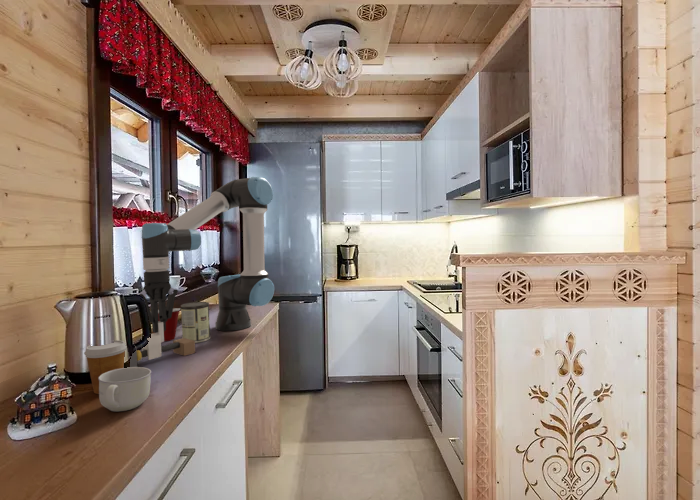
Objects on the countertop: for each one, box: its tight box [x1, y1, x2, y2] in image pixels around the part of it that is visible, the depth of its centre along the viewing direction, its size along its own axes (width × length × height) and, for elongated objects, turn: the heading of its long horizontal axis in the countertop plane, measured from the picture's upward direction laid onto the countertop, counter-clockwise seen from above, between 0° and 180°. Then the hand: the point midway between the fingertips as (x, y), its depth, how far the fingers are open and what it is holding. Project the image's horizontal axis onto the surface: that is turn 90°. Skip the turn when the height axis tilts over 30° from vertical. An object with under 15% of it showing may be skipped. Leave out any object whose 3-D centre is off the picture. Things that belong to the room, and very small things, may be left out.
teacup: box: [98, 366, 152, 412], centre depth 89 cm, size 14×11×8 cm
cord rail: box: [130, 337, 196, 367], centre depth 125 cm, size 22×7×7 cm, turn 144°
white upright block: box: [141, 332, 162, 361], centre depth 123 cm, size 4×4×7 cm
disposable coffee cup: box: [83, 339, 127, 395], centre depth 101 cm, size 10×10×12 cm
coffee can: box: [180, 301, 211, 344], centre depth 148 cm, size 10×10×14 cm
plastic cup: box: [158, 307, 181, 342], centre depth 150 cm, size 11×11×12 cm
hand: (159, 341), depth 125 cm, fingers closed
